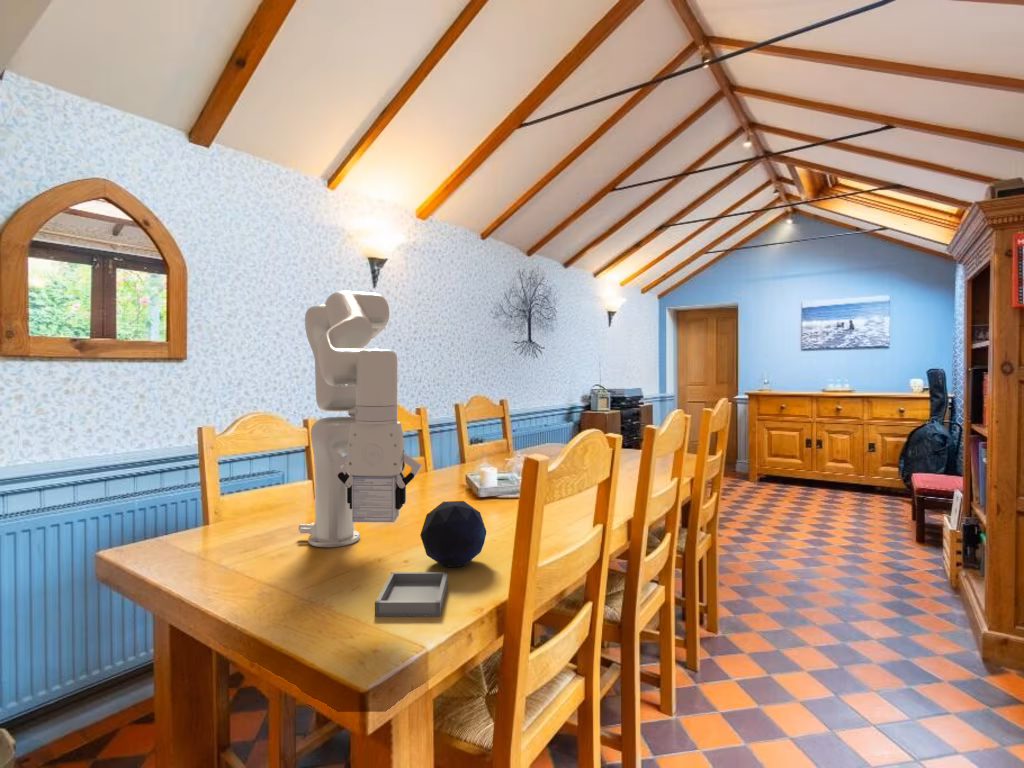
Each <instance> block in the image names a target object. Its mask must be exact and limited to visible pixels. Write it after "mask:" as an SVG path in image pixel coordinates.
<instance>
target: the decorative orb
mask: <svg viewBox="0 0 1024 768" xmlns="http://www.w3.org/2000/svg"><path fill="white" fill-rule="evenodd" d="M486 537H487V529H486V526H485V523H484V519H483V518H482V514H481V512H480V511H479V510H477V509H476V508H474V507H473V506H472V505H470V504H468V503H467V502H466V501H464V500H455V501H454V500H452V501H442V502H441V503H440V504H438V505H436V507H435V508H433V509H432V510H431V511H429V512H428V513H427V514H426V515H425V519H424V522H423V525H422V528H421V531H420V539H421V541H422V545H423V548H424V552H425V554H426V556H427V557H429V558H430V559H432V560H433V561H435V562H436V563H438V564H439V565H440V566H442V567H443V568H447V567H448V568H449V567H450V568H454V567H464V566H466V565H467V564H468V563H470V562H471V561H472V560H473V559H474V558H476V557H477V556H478V555H480V553H481V552H482V549H483V547H484V544H485V541H486Z"/></svg>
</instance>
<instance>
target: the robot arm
mask: <svg viewBox="0 0 1024 768" xmlns="http://www.w3.org/2000/svg"><path fill="white" fill-rule="evenodd" d="M389 321H390V307H389V303H388V301H387V299H386V298H385V297H384V296H383V295H382V294H379V293H376V292H365V291H354V290H353V291H351V290H339V291H335V292H333V293H332V294H330V295H329V296H328V297H327V299H326V300H325V303H324V304H316V305H312V306H310V307H309V308H307V310H306V311H305V315H304V327H305V328H304V329H305V335H306V338H307V340H308V341H307V342H308V343H309V346H310V348H311V352H312V355H313V359H314V379H315V380H314V381H315V399H316V404H317V407H318V408H319V409H320V410H321V411H324V412H330V413H331V412H334V413H335V412H340V413H341V412H347V413H348V416H329V417H328V416H327V417H323V418H320V419H318V420H316V421H315V422H313V424H312V425H311V428H310V441H311V445H312V447H311V448H312V453H313V462H314V463H313V464H314V465H313V466H314V522H311V523H309V524H308V523H299V524H298V532H299V533H300V534H309V536H308V538H307V542H308V544H309V545H310V546H313V547H317V548H337V547H344V546H348V545H351V544H354V543H356V542H358V541H359V540H360V538H361V536H360V535H361V534H360V532H359V531H357V530H355V529H354V525H355V522H352V477H353V476H355V477H394V476H395V477H396V483H397V485H398V487H397V488H396V509H397V510H401V508H403V506H404V505H405V504H406V502H407V500H406V498H407V495H406V491H407V490H406V489H407V487H406V486H407V485H408V484H409V483H410V482H411V481H412V480H413V479H414V478H415V477H416V476H417V474H418V473H419V471H420V470H421V468H422V464H421V463H420V462H418V461H417V460H416V459H414V458H412V457H411V456H410V455H408V454H407V453H405V443H404V441H405V440H404V434H403V428H402V423H401V421H398V356H397V353H396V352H395V351H394V350H392V349H387V348H386V349H383V348H382V349H381V348H364V347H366V346H367V345H368V344H369V343H370V342H371V340H373V339H374V338H375V337H376V336H377V335H379V334H380V333H381V332H382V331H383V330H385V328H386V326H387V325H388V323H389ZM405 464H406V465H407V466H408V467H410V468H411V470H410V471H409V472H408V474H407V475H406V476H405V475H404V473H403V471H404V470H405V466H406V465H405Z"/></svg>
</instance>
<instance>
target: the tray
mask: <svg viewBox="0 0 1024 768" xmlns="http://www.w3.org/2000/svg"><path fill="white" fill-rule="evenodd" d="M448 579H449V572H448V571H396V572H395V571H391V572H390V573H389V574H388V577H387V579H386V581H385V582H384V584H383V586H382V588H381V590H380V591H379V594H378V595H377V597H376V599H375V601H374V617H441V614H442V608H443V606H444V602H445V597H446V593H447V588H448V585H449V584H448V583H449V580H448Z"/></svg>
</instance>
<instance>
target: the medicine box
mask: <svg viewBox="0 0 1024 768" xmlns="http://www.w3.org/2000/svg"><path fill="white" fill-rule="evenodd" d="M397 487H398V485H397V483H396V477H395V476H394V477H355V476H353V477H352V522H354V523H395V521H396V520H397V518H399V516H400V511H399V510H397V509H396V488H397Z"/></svg>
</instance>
